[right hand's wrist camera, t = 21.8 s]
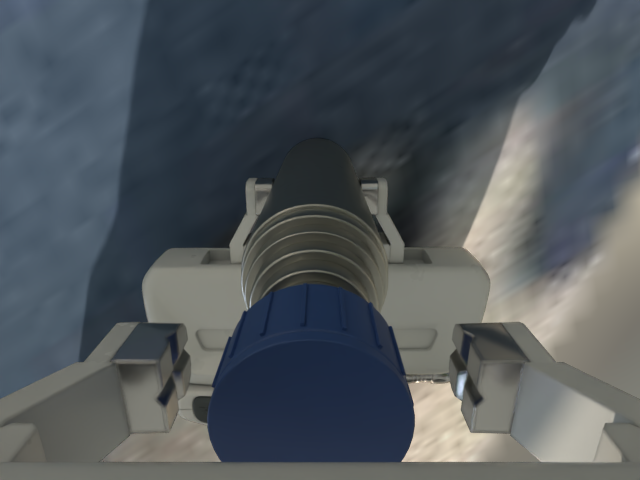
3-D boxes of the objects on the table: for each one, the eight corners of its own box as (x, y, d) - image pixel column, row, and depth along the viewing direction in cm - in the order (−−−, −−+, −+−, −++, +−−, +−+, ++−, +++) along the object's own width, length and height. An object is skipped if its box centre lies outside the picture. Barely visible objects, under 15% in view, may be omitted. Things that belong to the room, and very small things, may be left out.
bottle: (281, 136, 29) (177, 291, 8) (355, 139, 29) (451, 299, 8) (281, 207, 30) (196, 492, 9) (350, 210, 30) (420, 497, 9)
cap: (412, 403, 11) (434, 482, 8) (259, 436, 11) (245, 520, 9) (375, 262, 9) (392, 314, 7) (204, 305, 10) (172, 367, 8)
